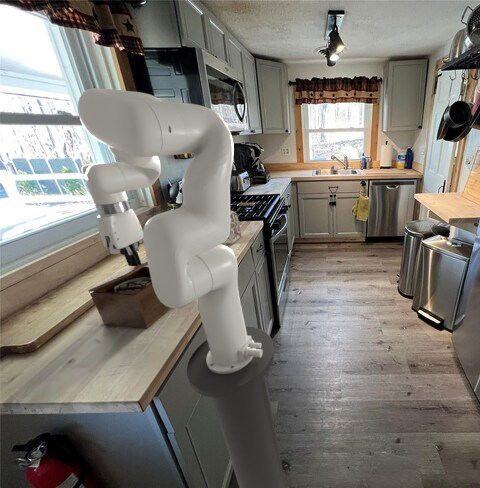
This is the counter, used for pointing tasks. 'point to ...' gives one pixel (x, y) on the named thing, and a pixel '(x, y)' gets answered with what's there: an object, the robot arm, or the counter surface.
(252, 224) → the counter surface
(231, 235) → the decorative jar
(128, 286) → the food container
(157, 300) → the chest
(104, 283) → the lid
